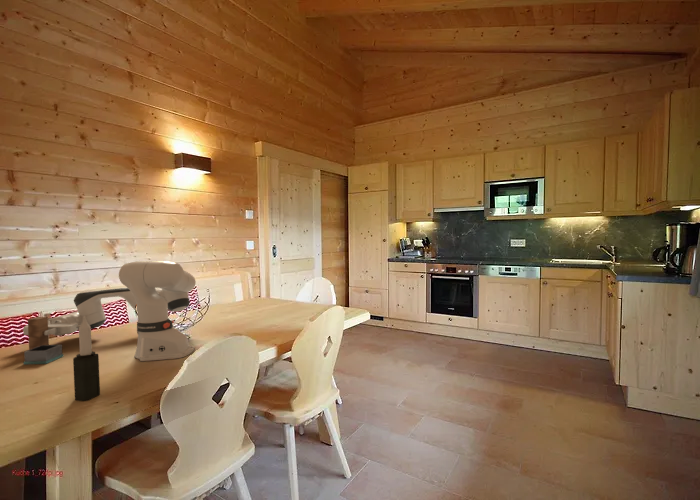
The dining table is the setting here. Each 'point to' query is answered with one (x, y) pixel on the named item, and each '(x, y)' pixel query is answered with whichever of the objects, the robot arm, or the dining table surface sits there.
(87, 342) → the candle
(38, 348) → the keeper collar
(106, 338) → the dining table surface
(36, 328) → the link block
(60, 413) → the dining table surface
